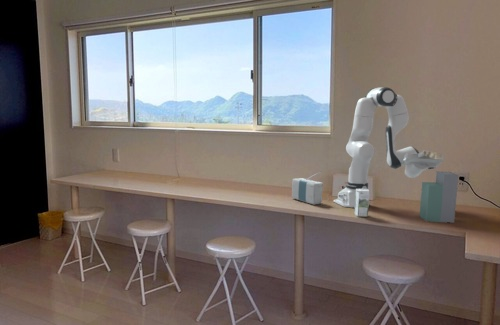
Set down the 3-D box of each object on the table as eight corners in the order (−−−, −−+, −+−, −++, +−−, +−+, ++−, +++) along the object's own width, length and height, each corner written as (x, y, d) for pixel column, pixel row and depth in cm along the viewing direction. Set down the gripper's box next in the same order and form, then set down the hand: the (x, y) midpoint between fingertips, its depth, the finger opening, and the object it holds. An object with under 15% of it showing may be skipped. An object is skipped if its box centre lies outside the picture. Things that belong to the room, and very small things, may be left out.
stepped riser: (419, 216, 217) (422, 170, 214) (446, 217, 216) (450, 171, 213) (426, 221, 207) (429, 173, 204) (454, 222, 206) (458, 174, 203)
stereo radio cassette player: (291, 199, 255) (292, 167, 253) (301, 197, 260) (302, 167, 257) (313, 205, 238) (314, 172, 235) (323, 204, 242) (325, 171, 240)
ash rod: (422, 155, 222) (423, 150, 221) (427, 155, 221) (427, 150, 221) (435, 159, 203) (436, 153, 202) (441, 159, 203) (441, 154, 202)
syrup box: (364, 214, 219) (366, 188, 218) (368, 217, 214) (369, 190, 212) (354, 214, 219) (355, 188, 217) (357, 217, 213) (359, 190, 212)
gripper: (400, 157, 232) (407, 147, 219) (436, 158, 230) (446, 148, 218) (401, 167, 229) (408, 157, 217) (438, 168, 228) (448, 158, 215)
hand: (428, 152), depth 217 cm, fingers closed on ash rod, 3 cm apart
